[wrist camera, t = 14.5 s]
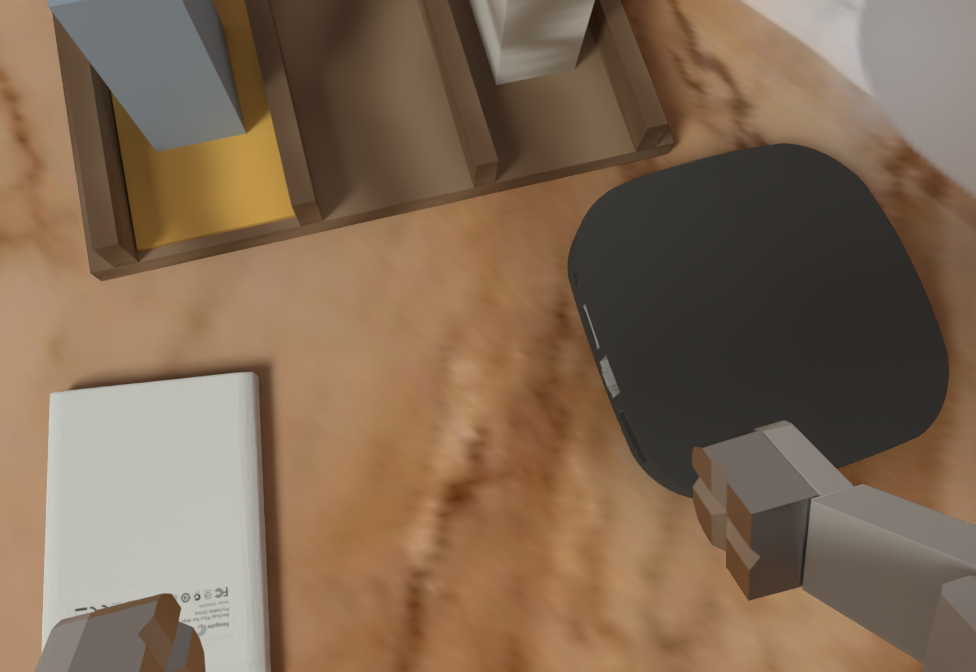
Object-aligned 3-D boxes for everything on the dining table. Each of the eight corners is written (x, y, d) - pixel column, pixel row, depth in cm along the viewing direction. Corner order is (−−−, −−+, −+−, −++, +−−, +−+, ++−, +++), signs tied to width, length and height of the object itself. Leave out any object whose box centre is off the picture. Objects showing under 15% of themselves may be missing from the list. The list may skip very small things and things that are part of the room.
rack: (569, -104, 38) (597, -239, 32) (667, 153, 34) (723, 61, 28) (56, -19, 35) (-36, -151, 28) (101, 281, 31) (6, 210, 24)
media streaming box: (943, 426, 32) (993, 415, 29) (651, 525, 30) (674, 524, 27) (812, 152, 35) (846, 118, 32) (542, 223, 33) (552, 194, 30)
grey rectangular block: (223, 25, 33) (146, -153, 24) (246, 133, 32) (174, -16, 23) (136, 40, 33) (27, -136, 24) (156, 151, 31) (48, 6, 23)
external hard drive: (262, 378, 31) (275, 686, 27) (66, 399, 30) (56, 719, 27) (252, 370, 29) (265, 695, 26) (46, 392, 28) (31, 730, 25)
